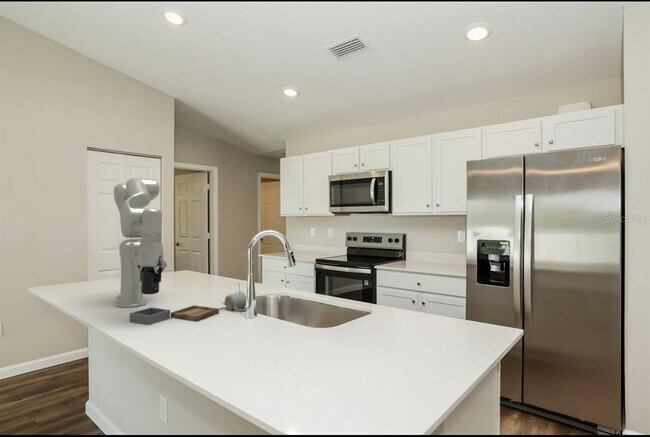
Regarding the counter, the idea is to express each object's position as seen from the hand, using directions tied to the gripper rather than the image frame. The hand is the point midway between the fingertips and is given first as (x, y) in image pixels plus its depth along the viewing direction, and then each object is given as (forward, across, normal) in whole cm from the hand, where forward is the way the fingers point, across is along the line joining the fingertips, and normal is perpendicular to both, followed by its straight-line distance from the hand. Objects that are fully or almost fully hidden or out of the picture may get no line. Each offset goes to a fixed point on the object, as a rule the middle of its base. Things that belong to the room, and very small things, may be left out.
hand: (150, 281), depth 147 cm
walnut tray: (+16, +13, +12) cm, 24 cm away
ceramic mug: (+16, +23, +29) cm, 40 cm away
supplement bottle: (+5, 0, 0) cm, 5 cm away
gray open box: (+16, +1, 0) cm, 16 cm away
